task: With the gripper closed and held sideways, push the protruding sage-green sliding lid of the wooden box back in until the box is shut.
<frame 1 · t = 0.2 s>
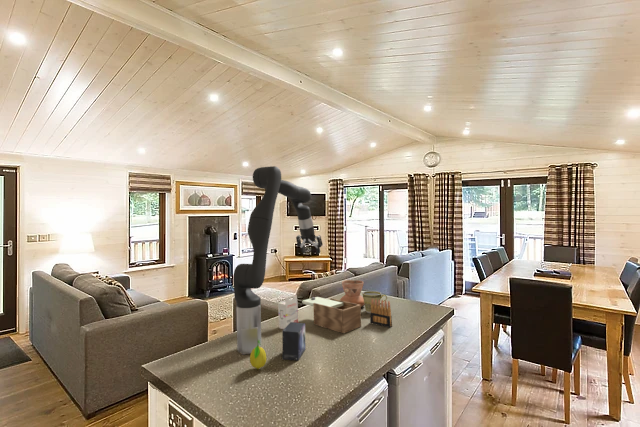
hand: (311, 253, 181), 31 cm above the kitchen island, tool tilted 20°, fingers open, 8 cm apart
ceramic jug: (353, 306, 189), on the kitchen island
small box: (294, 355, 124), on the kitchen island
ceramic cup: (375, 312, 177), on the kitchen island
lemon: (258, 369, 113), on the kitchen island
ink cartridge box: (288, 327, 156), on the kitchen island
lid: (322, 302, 163), point 9 cm above the kitchen island, slide at 9.0 cm
wooden box: (336, 325, 157), on the kitchen island
ammunition clip: (381, 325, 156), on the kitchen island
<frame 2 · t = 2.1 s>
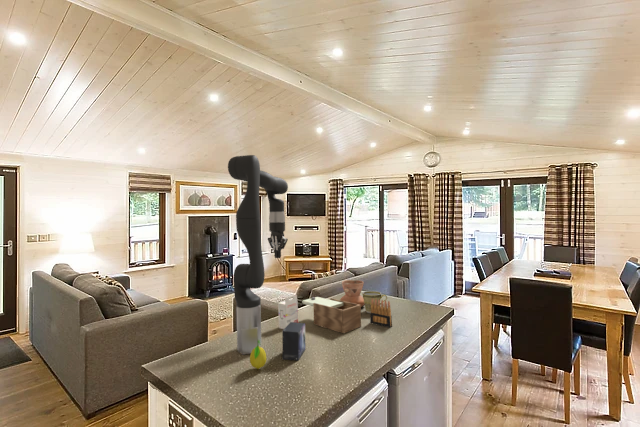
hand: (277, 257, 158), 32 cm above the kitchen island, tool pointing down, fingers closed
nothing on the kitchen island moved.
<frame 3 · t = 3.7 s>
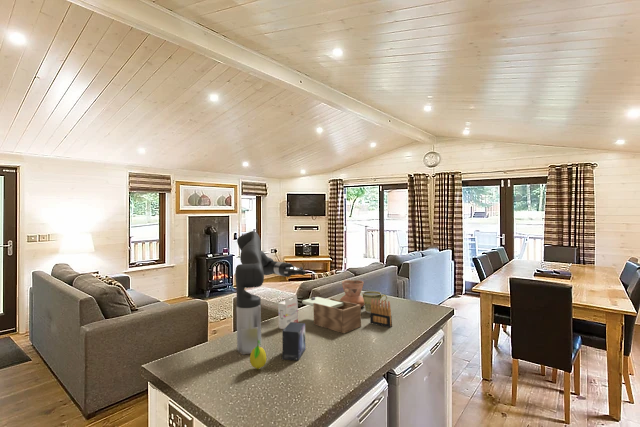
hand: (304, 272, 173), 22 cm above the kitchen island, tool horizontal, fingers closed
nothing on the kitchen island moved.
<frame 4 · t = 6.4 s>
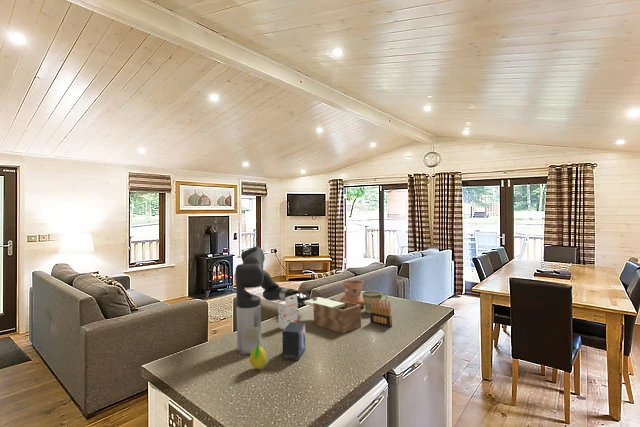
hand: (311, 300, 169), 9 cm above the kitchen island, tool horizontal, fingers closed
lid: (324, 302, 163), point 9 cm above the kitchen island, slide at 7.8 cm, touching gripper
everything else where it was.
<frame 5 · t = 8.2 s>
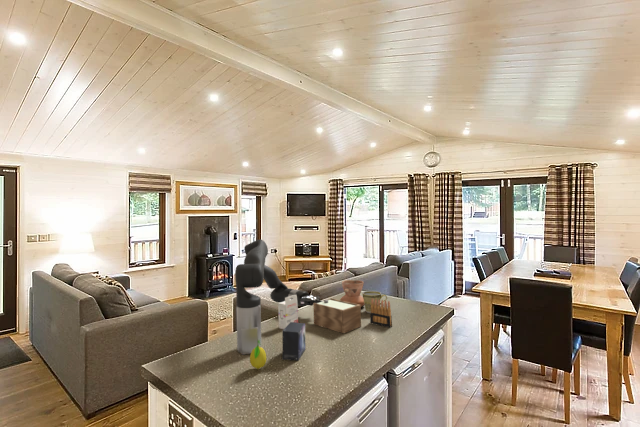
hand: (322, 303, 163), 9 cm above the kitchen island, tool horizontal, fingers closed
lid: (336, 305, 157), point 9 cm above the kitchen island, slide at 0.0 cm
everything else where it was.
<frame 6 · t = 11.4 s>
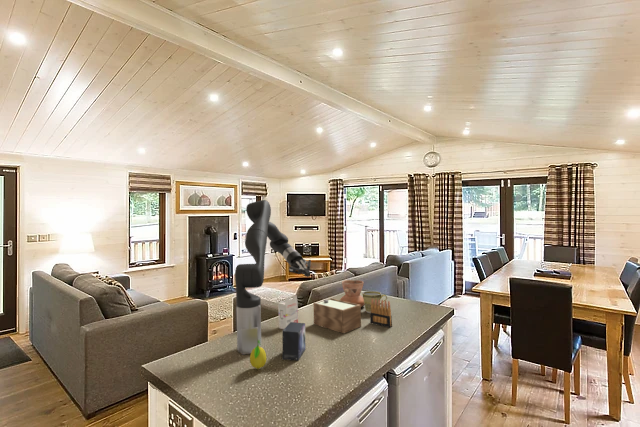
hand: (309, 275, 163), 23 cm above the kitchen island, tool tilted 65°, fingers closed
nothing on the kitchen island moved.
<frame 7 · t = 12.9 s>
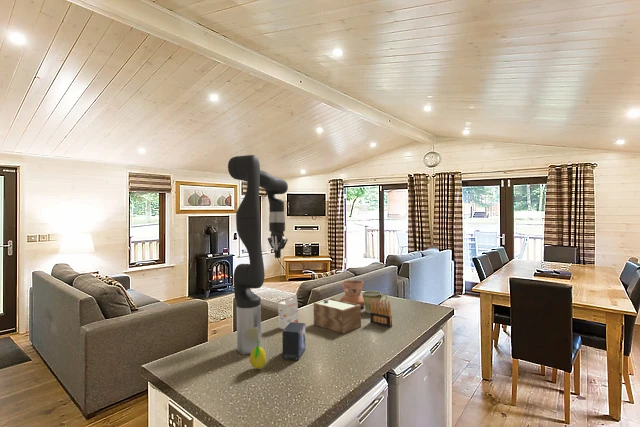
hand: (277, 257, 158), 32 cm above the kitchen island, tool pointing down, fingers closed
nothing on the kitchen island moved.
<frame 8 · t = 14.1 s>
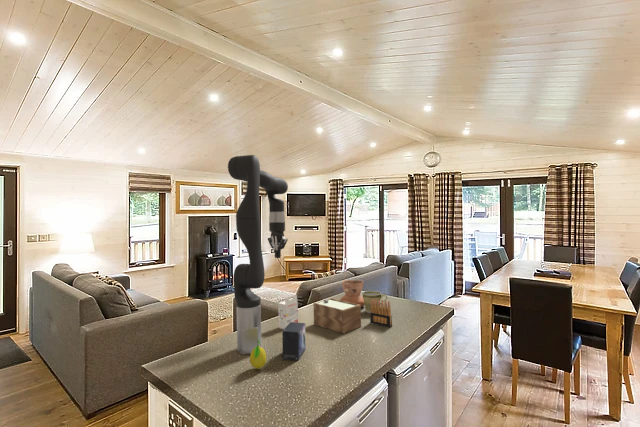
hand: (277, 257, 158), 32 cm above the kitchen island, tool pointing down, fingers closed
nothing on the kitchen island moved.
at the end: lid slide at 0.0 cm; lid touching nothing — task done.
